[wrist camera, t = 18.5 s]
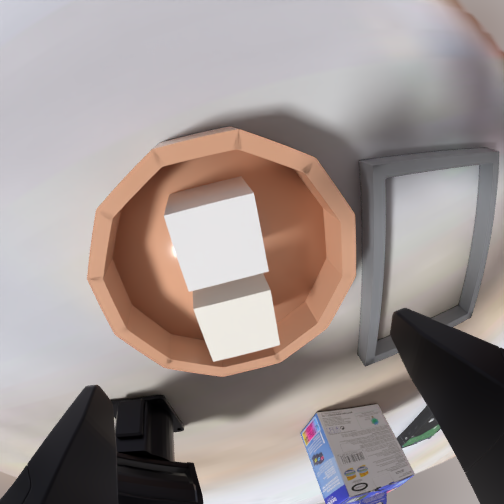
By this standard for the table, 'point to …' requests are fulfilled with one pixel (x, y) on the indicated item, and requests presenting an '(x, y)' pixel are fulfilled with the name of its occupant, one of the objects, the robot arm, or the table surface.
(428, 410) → the disk drive
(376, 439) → the ink cartridge box
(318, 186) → the bowl
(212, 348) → the white matte cube
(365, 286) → the parts tray
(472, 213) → the table surface
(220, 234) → the pale grey cubic block
